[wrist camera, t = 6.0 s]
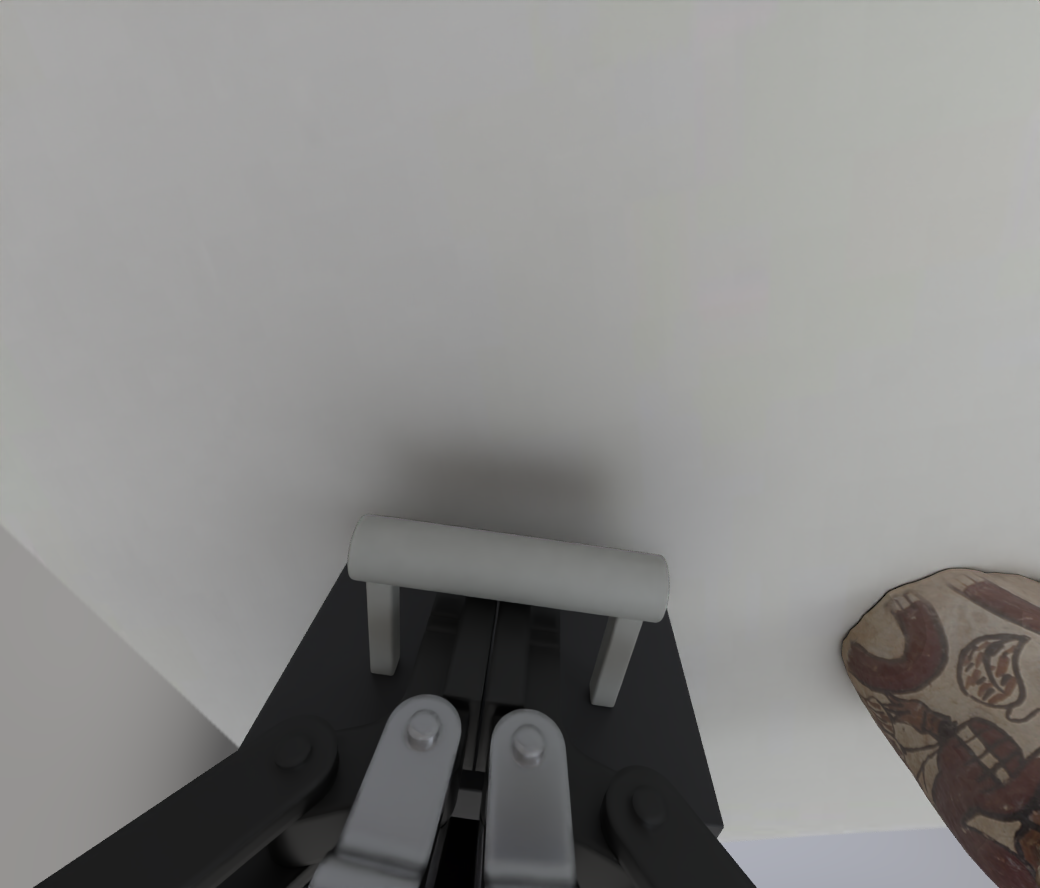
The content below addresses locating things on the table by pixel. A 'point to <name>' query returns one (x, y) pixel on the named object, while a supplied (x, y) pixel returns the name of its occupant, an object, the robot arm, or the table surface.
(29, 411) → the table surface
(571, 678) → the drawer
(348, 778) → the robot arm
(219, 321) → the table surface
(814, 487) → the table surface
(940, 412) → the table surface
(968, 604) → the figurine
